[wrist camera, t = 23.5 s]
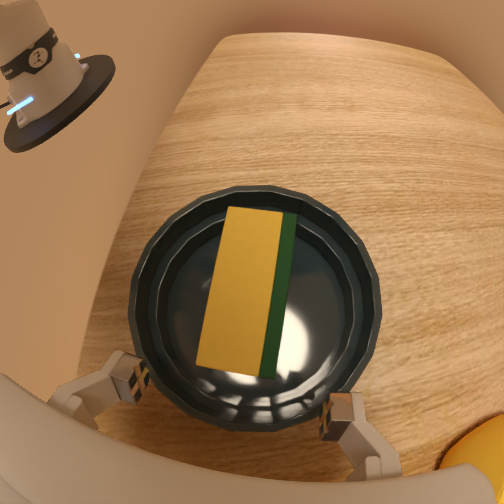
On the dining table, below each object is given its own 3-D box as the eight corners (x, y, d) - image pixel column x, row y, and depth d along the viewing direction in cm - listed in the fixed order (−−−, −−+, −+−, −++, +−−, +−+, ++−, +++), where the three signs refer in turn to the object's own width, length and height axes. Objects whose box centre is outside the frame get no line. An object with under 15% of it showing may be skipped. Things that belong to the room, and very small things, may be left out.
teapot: (377, 561, 11) (412, 613, 1) (392, 454, 17) (460, 497, 7) (519, 484, 11) (569, 495, 1) (534, 383, 17) (596, 374, 6)
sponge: (219, 362, 21) (194, 365, 13) (239, 254, 24) (228, 205, 16) (271, 371, 20) (274, 379, 13) (287, 261, 23) (297, 214, 16)
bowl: (118, 328, 22) (88, 319, 18) (236, 186, 27) (230, 152, 22) (278, 453, 18) (281, 476, 13) (391, 285, 23) (418, 267, 18)
